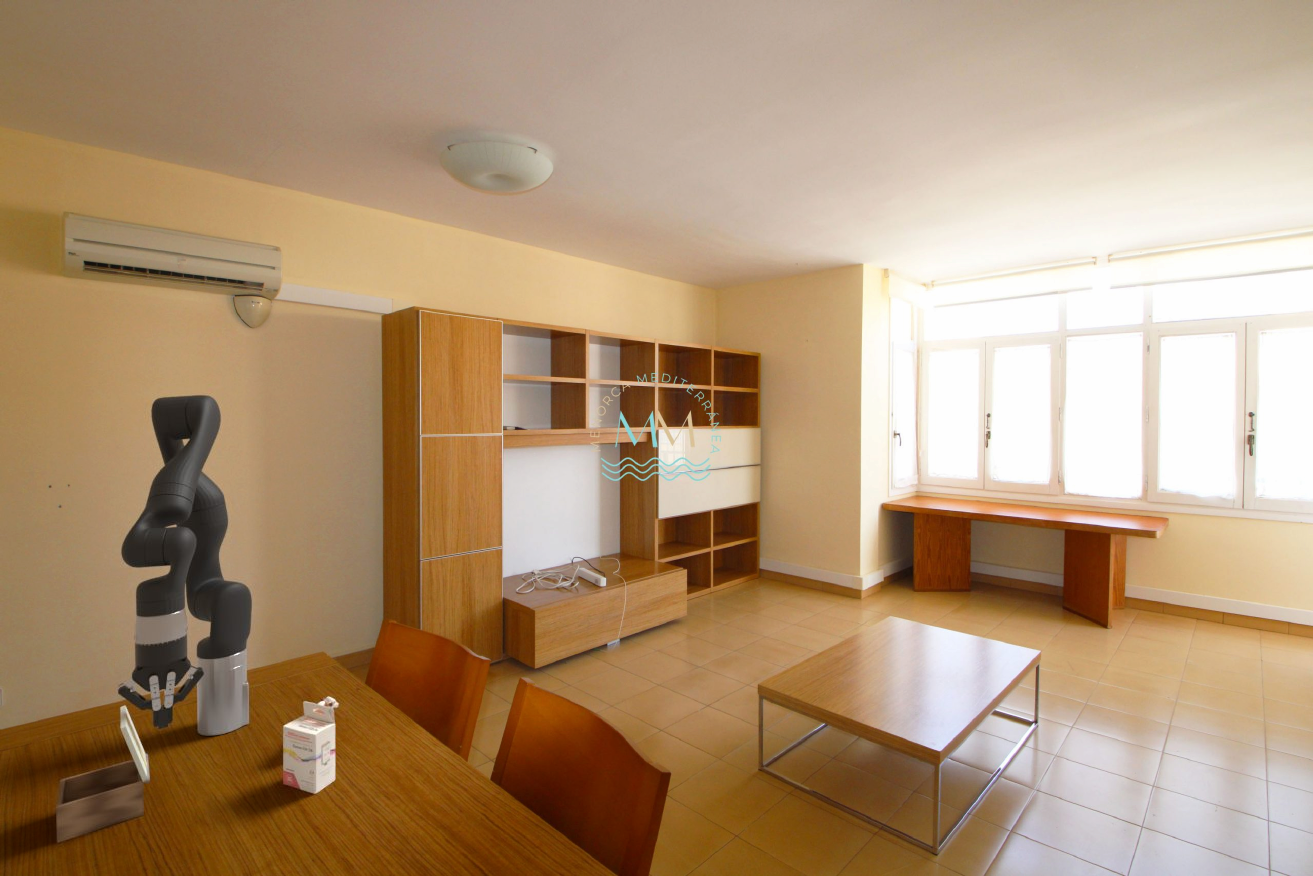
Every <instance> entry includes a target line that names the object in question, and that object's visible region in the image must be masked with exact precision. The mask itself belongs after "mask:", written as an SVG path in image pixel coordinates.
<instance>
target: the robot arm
mask: <svg viewBox="0 0 1313 876" xmlns="http://www.w3.org/2000/svg"><path fill="white" fill-rule="evenodd" d="M150 412H151V422H152V427H153V431H154V434H155V438H156V441H157V444H158V447H159V450H160V454H161V458H162V461H163V464H164V466H162V467H161V468H160V470H159V471H158V472H157V474H156V475H155V476H154V478H153V480H152V482H151V485H150V488H149V492H148V496H147V499H146V504H145V507H144V509H143V510H142V511H141V514H140V515H139V517H138V519H137V520H136V521H135V523H134V524H133V525H132V526H131V528H130V529H129V531H128V532H127V534H126V536H125V538H124V540H123V541H122V542H123V543H122V544H121V550H120V551H121V553H120V554H121V558H122V560H123V561H124V563H125V564H126V565H128V566H129V567H131V568H138V569H140V568H142V569H143V568H154V567H170V568H169V572H168V573H167V574H164V575H160V576H158V577H157V576H156V577H154V578H148V579H147V580H146V579H145V580H144V581H141V582H140V583H138V584H137V586H136V591H135V607H136V608H135V611H136V612H135V613H136V614H135V623H134V660H135V661H134V665H135V666H134V669H133V671H132V672H131V677H130V678H129V679H128V680H126V681H125V682H124V683H120V684H119V685H118V687H117V694H118V695H119V696H120V697H122V698H124V699H125V700H126V701H128V702H129V703H130V704H132V705H133V706H135V707H136V708H138V709H140V710H141V711H147V710H151V711H152V725H153V727H154V728H157V730H161V729H166V728H169V724H172V723H173V720H174V719H173V718H174V717H173V716H174V715H173V714H174V713H173V712H174V710H173V707H174V706H175V705H176V704H177V703H179V702H183V701H184V700H185V699H186V697H187V696H188V695H189V694H190V693H191V691H192V690H193V689H194V688H195V687H196V695H197V696H196V699H197V701H196V702H197V704H196V705H197V709H196V711H197V713H196V714H197V715H196V716H197V720H196V722H197V723H196V725H197V733H198V734H199V735H202V736H208V737H209V736H210V737H211V736H218V735H224V734H226V733H230V732H233V731H236V730H238V729H239V728H241V727H243V726H246V725H249V724H250V709H249V707H250V705H249V704H250V703H249V700H250V699H249V697H250V696H249V695H250V694H249V692H250V691H249V687H250V684H249V682H248V678H247V677H248V672H247V671H248V670H247V669H248V668H247V667H248V665H247V658H248V657H247V656H248V655H247V654H248V653H247V642H248V638H249V636H250V634H251V630H252V629H251V628H252V610H253V609H252V608H253V607H252V606H253V599H252V594H251V590H250V589H249V587H248V586H247V585H246V584H245V583H243V582H238V581H232V580H226V579H224V576H223V572H222V568H221V562H220V551H221V547H222V545H223V541H224V539H225V537H226V533H227V530H228V527H229V515H228V508H227V504H226V499H225V495H224V492H223V491H222V490H221V488H220V487H219V486H218V485H217V484H216V483H215V482H214V481H213V480H212V479H211V478H210V477H209V476H208V475H207V474H206V473H205V472H204V471H203V468H204V466H205V464H206V462H207V459H208V457H209V456H210V453H211V451H212V448H213V446H214V443H215V441H216V439H217V437H218V434H219V430H220V428H221V421H222V419H221V417H222V415H221V410H220V407H219V404H218V402H217V400H216V399H215V398H214V397H212V396H210V395H204V394H203V395H201V394H200V395H199V394H196V395H195V394H194V395H192V394H191V395H184V396H183V395H180V396H165V397H164V396H163V397H158V398H156V399H155V400H154V401H153V403H152V405H151V411H150ZM184 440H188V441H187V442H186V444H184ZM175 525H176V526H175ZM186 605H187V609H188V611H189V613H190V614H191V615H192V617H193V618H195V619H196V620H199V621H203V622H209V623H210V627H209V628H210V629H209V636H206V637H205V638H202V639H201V640H199V642H198V643H197V644H196V666H194V665H192V664H191V661H190V660H189V658H188V628H189V627H188V621H187V620H188V617H187V614H186ZM185 675H186V677H187V679H186V680H185V682H184V683H183V684H182V685H181V686H180V688H179V689H178V690H177V692H176V693H175V687H176V686H177V685H179V683H180V682H181V681H182V679H183V678H184V677H185ZM136 684H137V685H138V686H139V687H140V688H142V689H143V690H144V691H145V692H148V693H150V697H151V698H150V699H147V698H146V697H145V696H143V695H141V693H139V692H138V691H136V690H137V686H136ZM162 690H164V691H163V692H164V693H163V704H162V700H161V693H160V691H162Z"/></svg>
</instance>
